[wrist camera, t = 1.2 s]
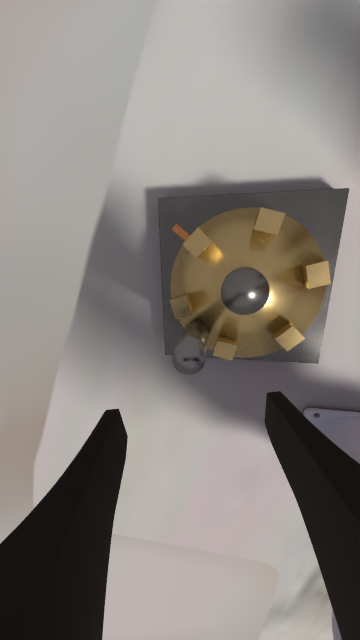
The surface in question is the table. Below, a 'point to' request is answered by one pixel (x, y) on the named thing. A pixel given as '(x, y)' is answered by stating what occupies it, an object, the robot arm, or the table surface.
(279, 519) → the table surface
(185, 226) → the base plate
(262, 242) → the gold round piece
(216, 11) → the table surface
